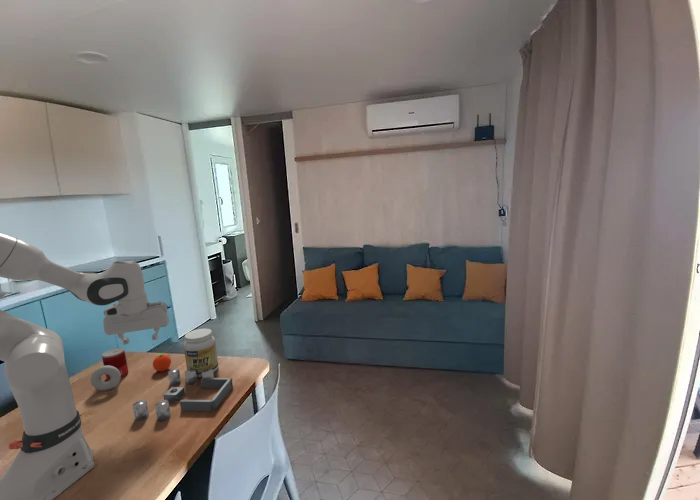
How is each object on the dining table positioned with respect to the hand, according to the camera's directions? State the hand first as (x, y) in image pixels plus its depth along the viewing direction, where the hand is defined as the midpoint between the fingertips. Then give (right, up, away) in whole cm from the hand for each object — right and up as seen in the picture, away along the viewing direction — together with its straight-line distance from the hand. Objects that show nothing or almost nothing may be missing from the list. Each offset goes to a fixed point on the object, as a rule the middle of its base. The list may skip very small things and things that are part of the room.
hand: (141, 341), depth 126 cm
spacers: (+12, -21, +3) cm, 25 cm away
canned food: (-23, -20, +21) cm, 37 cm away
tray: (+24, -21, +1) cm, 32 cm away
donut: (-20, -22, +11) cm, 31 cm away
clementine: (-5, -19, +24) cm, 31 cm away
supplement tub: (+14, -18, +21) cm, 31 cm away
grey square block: (+11, -22, +3) cm, 24 cm away
